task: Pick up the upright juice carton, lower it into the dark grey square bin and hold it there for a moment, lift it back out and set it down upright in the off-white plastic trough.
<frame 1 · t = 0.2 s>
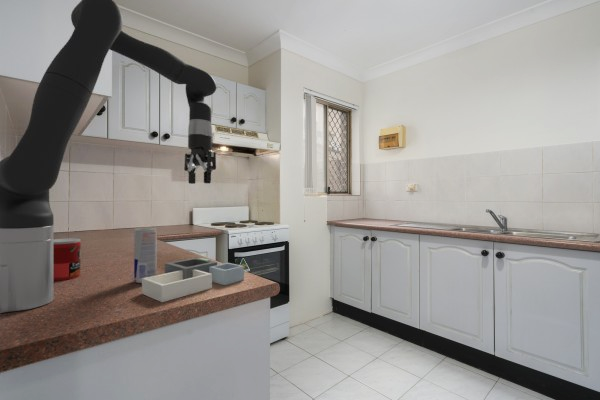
hand: (199, 183, 101), 28 cm above the counter, fingers open, 8 cm apart
trough: (178, 290, 77), on the counter
upright juice carton: (145, 281, 85), on the counter
dark grey square bin: (191, 277, 89), on the counter
blue-grey square bin: (226, 280, 87), on the counter
canned food: (63, 278, 88), on the counter
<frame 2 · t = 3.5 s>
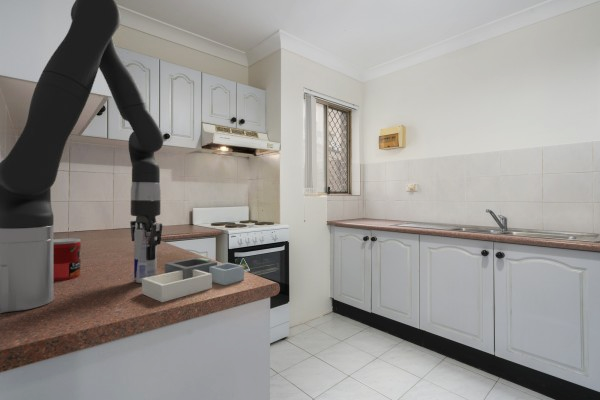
hand: (145, 258, 85), 6 cm above the counter, fingers closed on upright juice carton, 5 cm apart
upright juice carton: (145, 281, 85), on the counter, touching gripper
everything else where it was.
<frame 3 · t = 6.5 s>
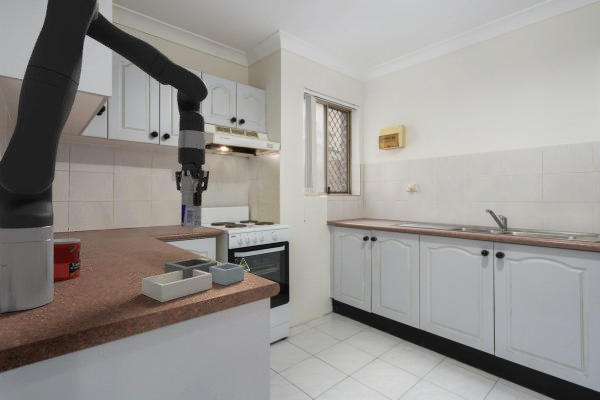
hand: (191, 205, 88), 22 cm above the counter, fingers closed on upright juice carton, 5 cm apart
upright juice carton: (191, 228, 89), point 15 cm above the counter, touching gripper
everything else where it was.
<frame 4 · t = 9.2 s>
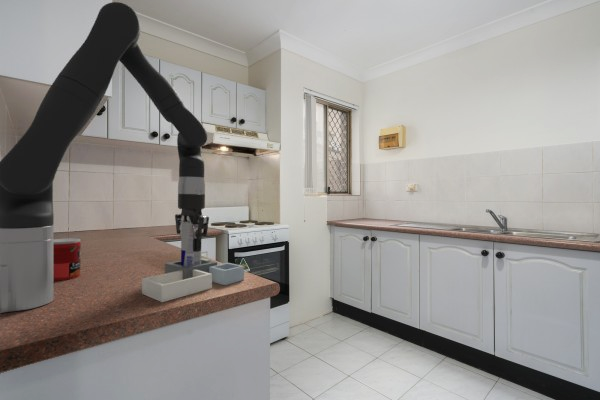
hand: (191, 249, 89), 8 cm above the counter, fingers closed on upright juice carton, 5 cm apart
upright juice carton: (191, 272, 89), point 2 cm above the counter, touching gripper
everything else where it was.
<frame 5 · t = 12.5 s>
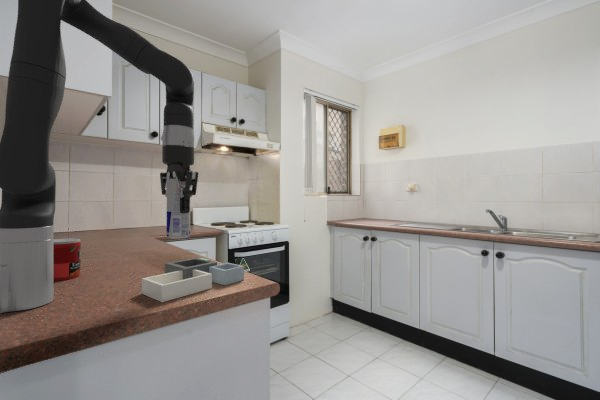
hand: (178, 212, 76), 20 cm above the counter, fingers closed on upright juice carton, 5 cm apart
upright juice carton: (178, 238, 77), point 13 cm above the counter, touching gripper
everything else where it was.
when the fingers open (9 cm above the counter, at t = 14.9 s): upright juice carton drops 2 cm, resting on trough.
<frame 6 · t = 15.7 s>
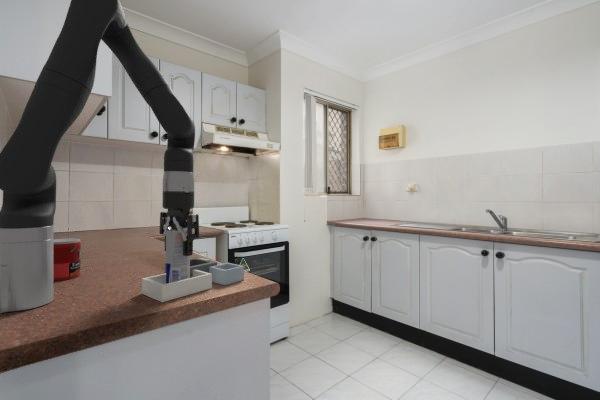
hand: (178, 253, 77), 10 cm above the counter, fingers open, 8 cm apart
upright juice carton: (178, 288, 77), point 1 cm above the counter, touching trough
everything else where it was.
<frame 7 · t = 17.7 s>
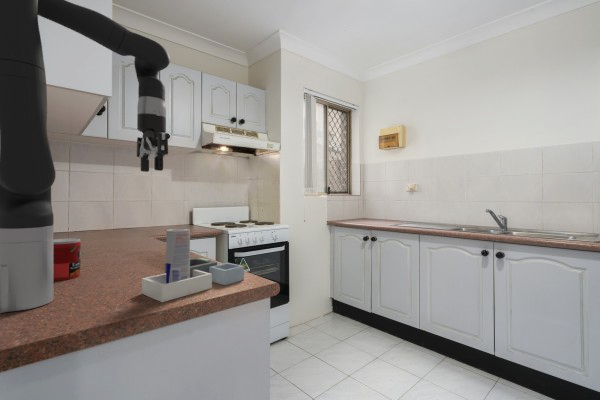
hand: (151, 171, 88), 31 cm above the counter, fingers open, 8 cm apart
nothing on the counter moved.
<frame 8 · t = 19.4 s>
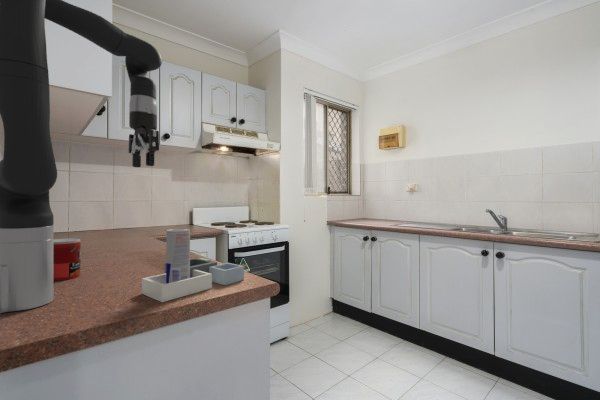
hand: (143, 166, 92), 33 cm above the counter, fingers open, 8 cm apart
nothing on the counter moved.
at the end: upright juice carton inside the target area on the trough (0.0 cm from its centre), point 0.6 cm above the trough's base; upright juice carton tilted 0°; the gripper is holding nothing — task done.
